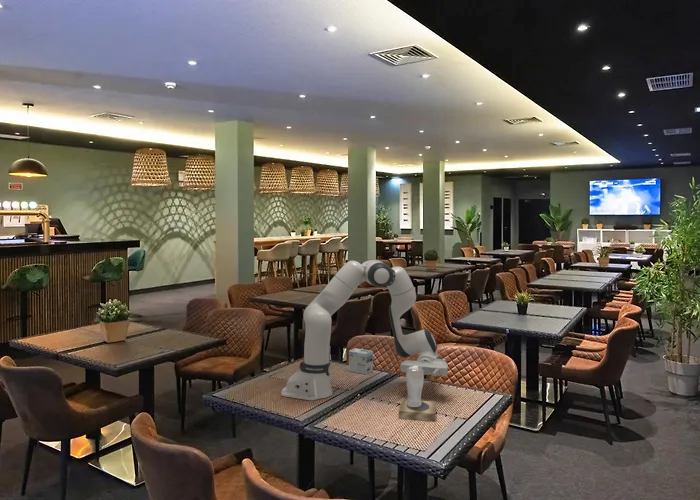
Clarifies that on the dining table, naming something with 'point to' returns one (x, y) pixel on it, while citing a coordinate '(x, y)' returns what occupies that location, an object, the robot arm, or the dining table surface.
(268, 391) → the dining table surface
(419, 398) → the beer glass
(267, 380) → the dining table surface
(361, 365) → the light bulb box
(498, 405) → the dining table surface
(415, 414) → the brass stand
